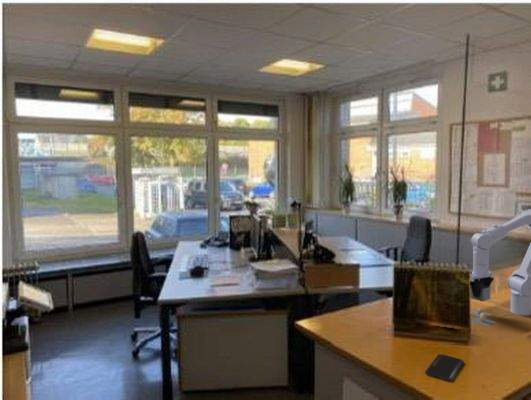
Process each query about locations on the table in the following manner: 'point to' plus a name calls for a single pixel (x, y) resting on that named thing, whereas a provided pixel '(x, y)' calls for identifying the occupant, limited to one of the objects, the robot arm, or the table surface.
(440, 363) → the phone
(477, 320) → the hub plate
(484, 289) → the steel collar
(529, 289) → the robot arm
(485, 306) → the table surface
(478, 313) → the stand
